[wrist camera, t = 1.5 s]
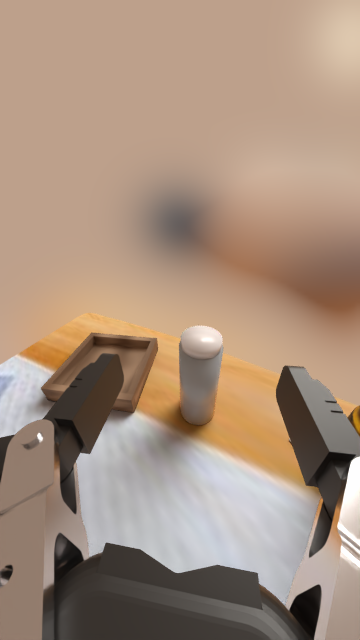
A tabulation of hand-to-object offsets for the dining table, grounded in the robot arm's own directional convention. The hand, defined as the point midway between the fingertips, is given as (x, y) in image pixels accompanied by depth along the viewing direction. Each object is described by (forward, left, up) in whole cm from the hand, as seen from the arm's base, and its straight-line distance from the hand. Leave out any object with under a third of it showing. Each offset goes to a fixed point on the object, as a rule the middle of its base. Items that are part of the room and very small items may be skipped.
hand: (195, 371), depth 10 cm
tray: (-16, +16, -19) cm, 29 cm away
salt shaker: (0, +11, -19) cm, 22 cm away
